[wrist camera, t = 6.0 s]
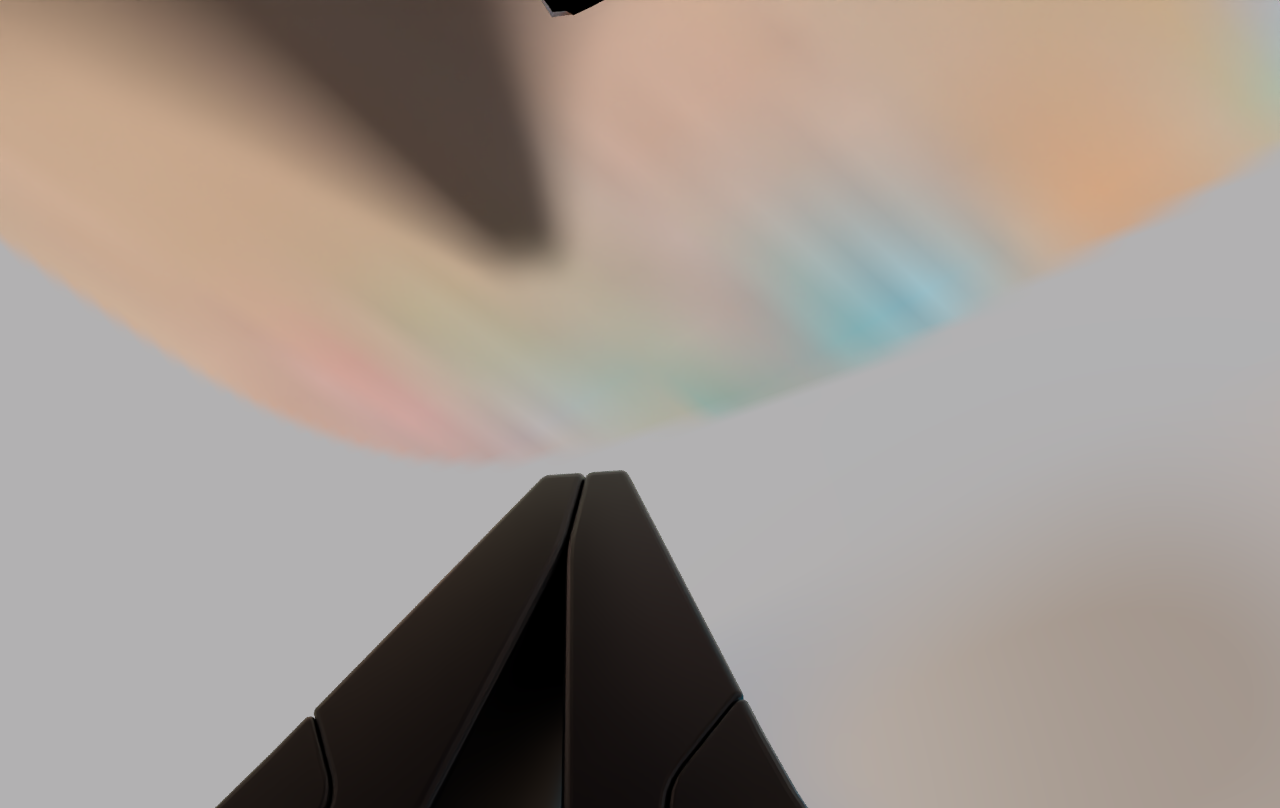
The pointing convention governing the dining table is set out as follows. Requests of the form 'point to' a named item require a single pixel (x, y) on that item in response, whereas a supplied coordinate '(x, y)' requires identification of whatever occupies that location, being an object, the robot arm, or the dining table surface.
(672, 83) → the dining table surface
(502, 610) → the robot arm
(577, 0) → the stack of blocks
